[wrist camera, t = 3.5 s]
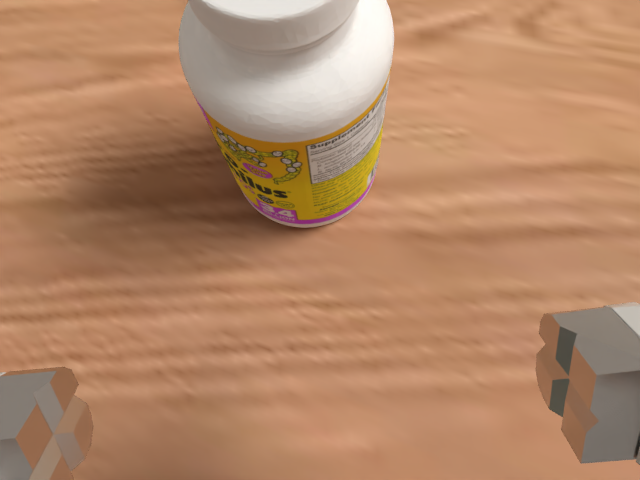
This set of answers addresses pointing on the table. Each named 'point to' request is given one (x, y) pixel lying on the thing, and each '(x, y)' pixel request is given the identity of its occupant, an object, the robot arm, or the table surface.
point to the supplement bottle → (293, 98)
